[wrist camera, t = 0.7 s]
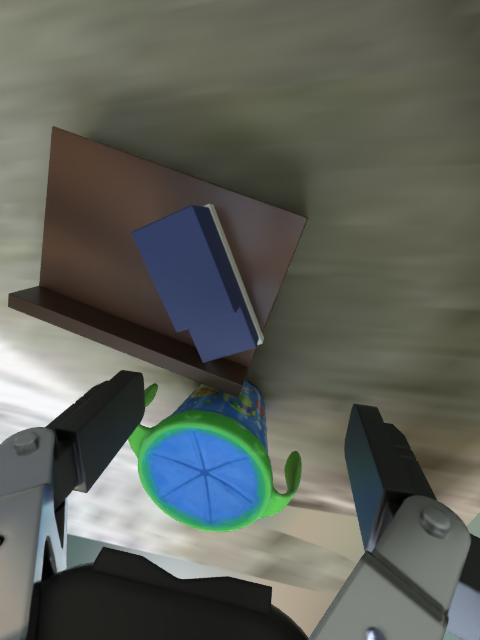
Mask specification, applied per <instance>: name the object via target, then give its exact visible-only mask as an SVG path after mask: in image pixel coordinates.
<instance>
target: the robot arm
mask: <svg viewBox="0 0 480 640" xmlns="http://www.w3.org/2000/svg"><path fill="white" fill-rule="evenodd" d="M144 412H145V395H144V379H143V375H142V373H139V372H132V371H125V370H122V371H120V372H119V373H117V374H116V375H115V376H114V377H113V378H112V379H111V380H109V381H105V382H103V383H101V384H98V385H96V386H94V387H93V388H91V389H90V390H89V391H88V392H87V393H85V394H84V396H83V397H81V398H80V399H78V400H77V401H76V403H75V404H72V405H71V406H70V407H69V408H68V409H66V410H65V411H64V412H63V413H62V414H60V415H59V416H58V417H57V418H56V419H54V420H53V421H52V422H51V423H50V424H48V425H47V426H46V427H45V428H44V427H36V428H30V429H26V430H23V431H20V432H18V433H16V434H14V435H12V436H10V437H9V438H7V439H6V440H5V441H3V442H2V443H1V444H0V640H443V638H444V634H445V631H447V632H449V633H451V634H453V635H454V636H456V637H458V638H459V639H461V640H480V538H478V537H476V536H474V535H472V534H470V533H469V531H468V529H467V527H466V525H465V524H464V522H463V521H462V520H461V519H460V517H459V516H458V515H457V514H456V513H455V512H453V511H452V510H451V509H450V508H448V507H447V506H445V505H444V504H442V503H441V502H439V501H437V499H436V497H435V495H434V493H433V491H432V489H431V487H430V485H429V483H428V481H427V479H426V477H425V475H424V473H423V471H422V469H421V467H420V465H419V463H418V461H416V457H415V455H414V453H413V451H412V450H411V448H410V446H409V444H408V442H407V440H406V438H405V436H404V435H403V434H402V433H401V432H400V431H399V430H398V429H397V428H396V427H395V426H394V425H393V424H389V423H384V421H383V419H382V417H381V415H380V412H379V410H378V408H377V407H373V406H366V405H359V404H354V405H353V406H352V410H351V414H350V419H349V424H348V428H347V433H346V438H345V448H344V450H345V460H346V464H347V469H348V474H349V479H350V483H351V488H352V493H353V498H354V502H355V507H356V512H357V517H358V521H359V526H360V531H361V535H362V540H363V545H364V550H365V553H364V555H363V556H362V557H361V559H360V560H359V562H358V563H357V565H356V566H355V568H354V570H353V571H352V573H351V574H350V576H349V577H348V579H347V580H346V582H345V583H344V585H343V586H342V588H341V590H340V591H339V593H338V594H337V596H336V597H335V599H334V600H333V602H332V603H331V605H330V606H329V608H328V609H327V611H326V613H325V614H324V616H323V617H322V619H321V620H320V622H319V623H318V625H317V626H316V628H315V630H314V631H313V633H312V634H311V636H310V637H309V638H308V637H307V635H306V634H305V633H304V632H303V630H302V629H301V628H300V627H299V626H298V625H297V624H296V623H295V622H294V621H293V620H292V619H291V618H290V617H289V616H287V615H286V614H285V613H283V612H282V611H281V610H280V609H278V608H277V607H275V606H273V605H272V604H271V596H272V587H270V586H266V585H262V584H258V583H253V582H249V581H245V580H241V579H237V578H232V577H228V576H227V577H211V578H198V579H178V578H176V577H175V576H173V575H172V574H170V573H168V572H167V571H165V570H163V569H162V568H160V567H159V566H157V565H156V564H154V563H152V562H151V561H149V560H148V559H146V558H145V557H143V556H140V555H136V554H132V553H128V552H124V551H119V550H115V549H111V548H107V547H103V548H102V550H101V552H100V553H99V555H98V556H97V558H96V560H95V562H91V563H86V564H80V565H77V566H74V567H71V568H68V569H67V567H66V543H67V511H68V503H67V497H68V495H69V494H70V493H71V492H72V490H75V491H79V492H84V493H87V492H88V491H89V490H90V488H91V487H92V486H93V484H94V483H95V482H96V480H97V479H98V478H99V476H100V475H101V474H102V473H103V471H104V470H105V469H106V467H107V466H108V465H109V463H110V462H111V461H112V459H113V458H114V457H115V455H116V454H117V453H118V451H119V450H120V449H121V447H122V446H123V445H124V443H125V442H126V441H127V439H128V438H129V437H130V436H131V434H132V433H133V432H134V430H135V429H136V428H137V426H138V425H139V424H140V422H141V420H142V418H143V416H144Z"/></svg>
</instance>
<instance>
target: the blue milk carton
mask: <svg viewBox="0 0 480 640" xmlns="http://www.w3.org/2000/svg"><path fill="white" fill-rule="evenodd" d="M131 234H132V236H133V238H134V241H135V243H136V245H137V247H138V249H139V252H140V254H141V256H142V258H143V260H144V263H145V265H146V267H147V269H148V271H149V273H150V276H151V278H152V280H153V282H154V284H155V287H156V289H157V291H158V293H159V295H160V298H161V300H162V302H163V304H164V306H165V308H166V311H167V313H168V315H169V317H170V319H171V322H172V324H173V326H174V328H175V330H176V332H180V331H183V330H186V329H188V330H189V333H190V335H191V337H192V339H193V342H194V344H195V346H196V348H197V351H198V353H199V355H200V357H201V360H202V362H203V363H204V362H208V361H211V360H215V359H218V358H222V357H225V356H229V355H232V354H236V353H239V352H243V351H246V350H250V349H253V348H256V347H257V345H259V344H262V343H263V340H264V337H263V334H262V331H261V329H260V326H259V323H258V321H257V318H256V316H255V313H254V310H253V308H252V305H251V302H250V300H249V297H248V294H247V292H246V289H245V287H244V284H243V281H242V279H241V276H240V273H239V271H238V268H237V266H236V263H235V260H234V258H233V255H232V252H231V250H230V247H229V244H228V242H227V239H226V237H225V234H224V231H223V229H222V226H221V223H220V221H219V218H218V216H217V213H216V210H215V208H214V205H212V204H207V205H205V206H196V205H190V206H188V207H186V208H183V209H181V210H179V211H177V212H175V213H172V214H170V215H168V216H166V217H164V218H161V219H159V220H157V221H155V222H153V223H150V224H148V225H146V226H144V227H141V228H139V229H137V230H135V231H133V232H131Z"/></svg>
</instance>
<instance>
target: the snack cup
mask: <svg viewBox="0 0 480 640" xmlns="http://www.w3.org/2000/svg"><path fill="white" fill-rule="evenodd" d="M157 389H158V385H157V384H156V383H154V384H152V385H150V386H149V387H148V388H147V389H146V390H145V391H144V395H145V407H146V406H148V405H149V404H150V403H151V402H152V400H153V399H154V397H155V395H156V392H157ZM128 440H129V443H130V445H131V448H132V450H133V451H134V453H135V454H136V456H137V458H138V472H139V476H140V480H141V483H142V485H143V487H144V489H145V491H146V492H147V494H148V495H149V496H150V498H151V499H152V500H153V502H154V503H155V504H156V505H157V506H158V507H159V508H160V509H161V510H162V511H163V512H165V513H166V514H167V515H169V516H170V517H172V518H174V519H175V520H177V521H179V522H181V523H183V524H185V525H187V526H190V527H193V528H196V529H200V530H205V531H213V532H226V531H234V530H238V529H241V528H244V527H246V526H248V525H250V524H252V523H253V522H254V521H256V520H257V519H258V518H260V517H268V516H271V515H274V514H276V513H278V512H280V511H281V510H282V509H283V508H284V507H285V506H286V505H287V504H288V503H289V502H290V500H291V499H292V497H293V496H294V494H295V493H296V491H297V489H298V486H299V483H300V478H301V466H302V464H301V457H300V455H299V453H298V452H297V451H294V452H292V453H291V454H290V456H289V457H288V459H287V462H286V465H285V478H286V483H287V487H288V490H287V493H285V494H280V493H278V492H277V491H276V490H275V489H274V487H273V475H272V467H271V462H270V459H269V456H268V447H267V429H266V416H265V406H264V403H263V400H262V398H261V396H260V393H259V391H258V390H257V389H256V388H255V387H254V386H252V385H250V384H249V382H247V381H246V380H245V381H244V384H243V387H242V390H241V392H240V395H239V397H238V398H237V397H234V396H232V395H229V394H227V393H224V392H222V391H219V390H217V389H214V388H212V387H209V386H206V385H204V384H201V385H200V386H199V387H198V388H197V389H196V390H195V391H194V392H193V393H192V394H191V395H190V396H189V397H188V398H187V399H186V400H185V401H184V403H183V404H182V405H180V407H179V408H178V409H177V410H176V411H175V412H174V413H173V414H172V415H170V416H169V417H167V418H166V419H164V420H162V421H161V422H160V423H159V424H158V425H156V426H154V427H152V428H148V427H145V426H142V425H141V424H139V425H138V426H137V428H136V429H135V430H134V432H133V433H132V434H131V436H130V437H129V438H128Z"/></svg>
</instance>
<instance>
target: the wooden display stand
mask: <svg viewBox="0 0 480 640" xmlns="http://www.w3.org/2000/svg"><path fill="white" fill-rule="evenodd" d="M207 204H212V205H214V208H215V210H216V213H217V216H218V218H219V221H220V223H221V226H222V229H223V231H224V234H225V237H226V239H227V242H228V244H229V247H230V250H231V252H232V255H233V258H234V260H235V263H236V266H237V268H238V271H239V273H240V276H241V279H242V281H243V284H244V287H245V289H246V292H247V294H248V297H249V300H250V302H251V305H252V308H253V310H254V313H255V316H256V318H257V321H258V323H259V326H260V329H261V331H262V333H263V330H264V328H265V325H266V323H267V320H268V318H269V315H270V313H271V310H272V308H273V305H274V303H275V300H276V298H277V295H278V293H279V290H280V288H281V285H282V283H283V280H284V277H285V275H286V272H287V270H288V267H289V265H290V262H291V260H292V257H293V255H294V252H295V250H296V247H297V245H298V242H299V240H300V237H301V235H302V232H303V230H304V227H305V225H306V222H307V220H308V218H307V217H305V216H302V215H299V214H296V213H294V212H291V211H288V210H285V209H282V208H280V207H277V206H274V205H271V204H269V203H266V202H263V201H260V200H257V199H255V198H252V197H249V196H246V195H243V194H241V193H238V192H235V191H232V190H230V189H227V188H224V187H221V186H218V185H216V184H213V183H210V182H207V181H204V180H202V179H199V178H196V177H193V176H191V175H188V174H185V173H182V172H179V171H177V170H174V169H171V168H168V167H165V166H163V165H160V164H157V163H154V162H152V161H149V160H146V159H143V158H140V157H138V156H135V155H132V154H129V153H127V152H124V151H121V150H118V149H115V148H113V147H110V146H107V145H104V144H101V143H99V142H96V141H93V140H90V139H88V138H85V137H82V136H79V135H76V134H74V133H71V132H68V131H65V130H62V129H60V128H57V127H54V126H53V127H52V137H51V149H50V161H49V173H48V185H47V197H46V209H45V221H44V234H43V246H42V258H41V270H40V282H39V286H37V287H33V288H29V289H25V290H21V291H17V292H13V293H9V298H8V307H10V308H12V309H15V310H17V311H20V312H22V313H25V314H27V315H30V316H33V317H35V318H38V319H40V320H43V321H45V322H48V323H50V324H53V325H55V326H58V327H60V328H63V329H65V330H68V331H70V332H73V333H75V334H78V335H80V336H83V337H85V338H88V339H91V340H93V341H96V342H98V343H101V344H103V345H106V346H108V347H111V348H113V349H116V350H118V351H121V352H123V353H126V354H128V355H131V356H133V357H136V358H138V359H141V360H143V361H146V362H149V363H151V364H154V365H156V366H159V367H161V368H164V369H166V370H169V371H171V372H174V373H176V374H179V375H181V376H184V377H186V378H189V379H191V380H194V381H196V382H199V383H201V384H204V385H206V386H209V387H212V388H214V389H217V390H219V391H222V392H224V393H227V394H229V395H232V396H234V397H237V398H238V397H239V395H240V392H241V390H242V387H243V384H244V381H245V378H246V375H247V371H248V368H249V365H250V363H251V360H252V358H253V355H254V353H255V350H256V348H257V347H256V348H253V349H250V350H246V351H243V352H239V353H236V354H232V355H229V356H225V357H222V358H218V359H215V360H211V361H208V362H204V363H203V362H202V360H201V357H200V355H199V353H198V351H197V348H196V346H195V344H194V342H193V339H192V337H191V335H190V333H189V330H188V329H186V330H183V331H180V332H176V330H175V328H174V326H173V324H172V322H171V319H170V317H169V315H168V313H167V311H166V308H165V306H164V304H163V302H162V300H161V298H160V295H159V293H158V291H157V289H156V287H155V284H154V282H153V280H152V278H151V276H150V273H149V271H148V269H147V267H146V265H145V263H144V260H143V258H142V256H141V254H140V252H139V249H138V247H137V245H136V243H135V241H134V238H133V236H132V234H131V232H133V231H135V230H137V229H139V228H141V227H144V226H146V225H148V224H150V223H153V222H155V221H157V220H159V219H161V218H164V217H166V216H168V215H170V214H172V213H175V212H177V211H179V210H181V209H183V208H186V207H188V206H190V205H196V206H205V205H207Z"/></svg>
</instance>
